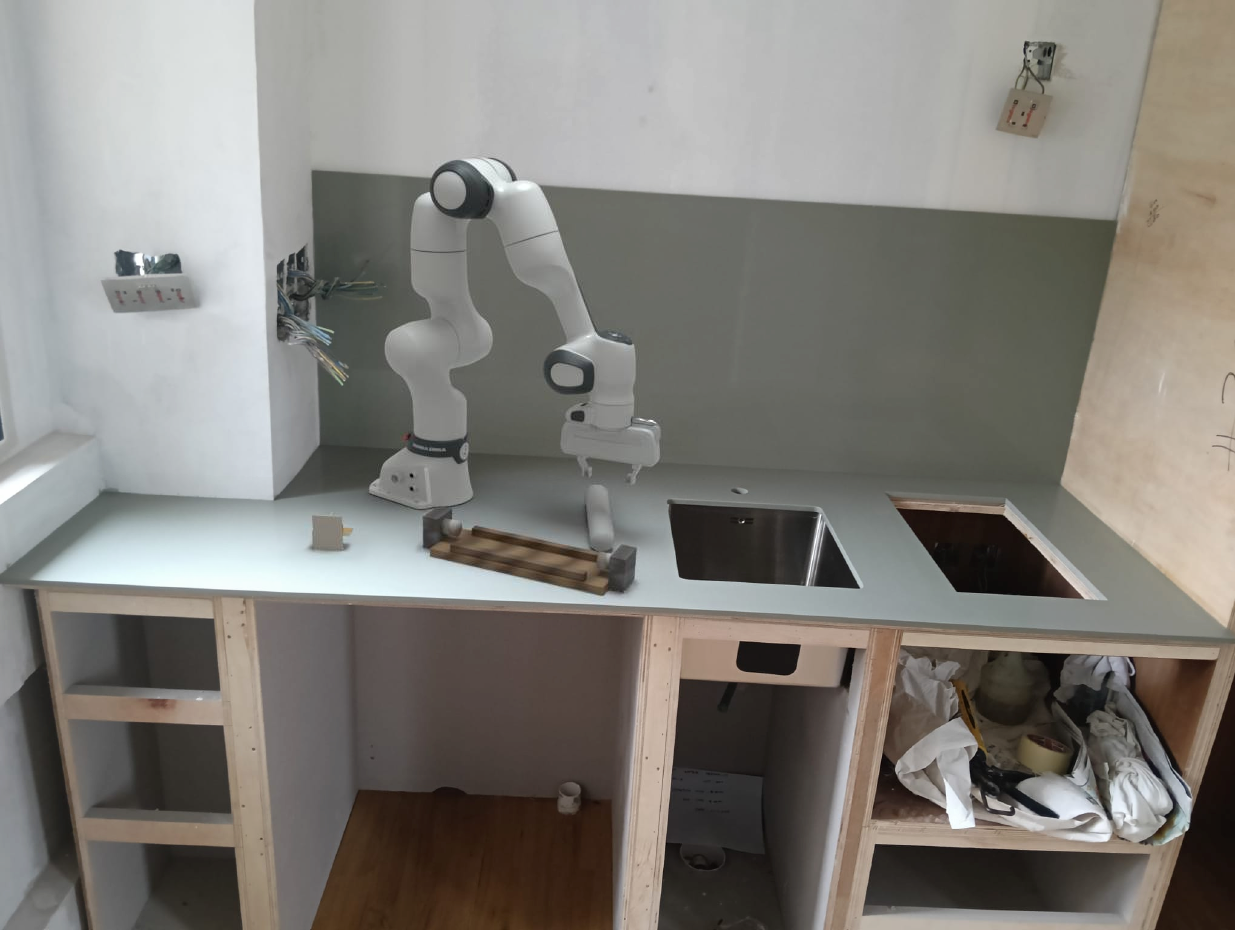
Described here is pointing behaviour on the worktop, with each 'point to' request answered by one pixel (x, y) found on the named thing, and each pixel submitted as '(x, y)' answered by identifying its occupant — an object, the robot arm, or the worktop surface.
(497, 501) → the worktop surface
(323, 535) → the architectural model
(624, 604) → the worktop surface
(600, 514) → the tube
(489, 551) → the shaft bed
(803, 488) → the worktop surface
